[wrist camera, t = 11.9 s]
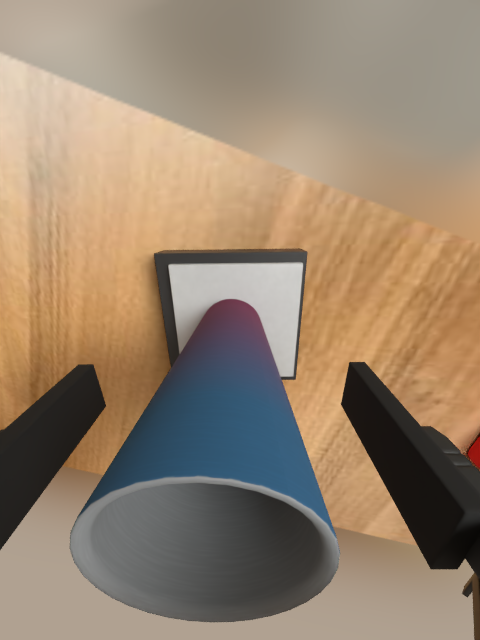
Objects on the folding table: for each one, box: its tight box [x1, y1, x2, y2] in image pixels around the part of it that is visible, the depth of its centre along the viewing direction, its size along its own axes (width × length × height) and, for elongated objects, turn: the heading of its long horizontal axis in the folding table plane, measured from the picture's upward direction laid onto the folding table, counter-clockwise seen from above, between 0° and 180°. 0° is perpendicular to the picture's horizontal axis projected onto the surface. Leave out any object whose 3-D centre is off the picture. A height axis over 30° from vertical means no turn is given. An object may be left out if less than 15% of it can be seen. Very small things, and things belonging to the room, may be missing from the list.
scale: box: [154, 249, 307, 380], centre depth 21 cm, size 12×12×3 cm
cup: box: [70, 299, 340, 622], centre depth 13 cm, size 7×7×15 cm
